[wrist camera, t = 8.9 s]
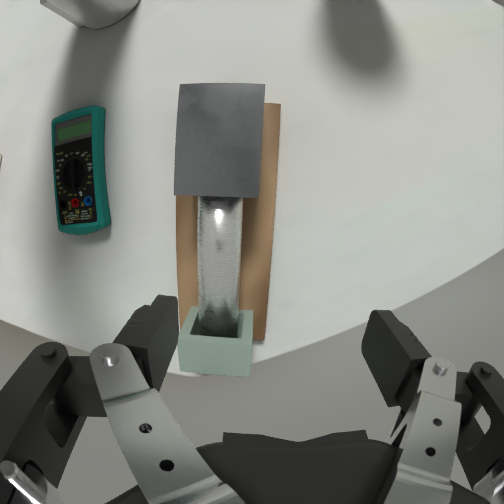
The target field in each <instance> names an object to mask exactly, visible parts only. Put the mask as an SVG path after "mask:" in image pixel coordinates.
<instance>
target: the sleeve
mask: <svg viewBox="0 0 504 504" xmlns="http://www.w3.org/2000/svg"><path fill="white" fill-rule="evenodd" d="M264 96H265V84H248V83H199V84H180V89H179V100H178V113H177V128H176V146H175V171H174V195H187V196H220V197H243V198H259V187H260V170H261V152H262V133H263V115H264Z"/></svg>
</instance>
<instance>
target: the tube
mask: <svg viewBox="0 0 504 504" xmlns="http://www.w3.org/2000/svg"><path fill="white" fill-rule="evenodd" d="M242 219H243V197H220V196H198V223H197V268H198V313H199V335H200V336H212V337H224V338H238V315H239V289H240V264H241V241H242Z"/></svg>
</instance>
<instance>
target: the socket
mask: <svg viewBox="0 0 504 504" xmlns="http://www.w3.org/2000/svg"><path fill="white" fill-rule="evenodd" d="M252 341H253V310H240V309H239V315H238V338H224V337H212V336H200V335H199V313H198V306H191V308H190V310H189V313H188V315H187V317H186V319H185V322H184V324H183V326H182V328H181V331H180V333H179V337H178V343H177V346H178V356H179V365H180V371H185V372H193V373H202V374H212V375H224V376H238V377H250V372H251V358H252Z"/></svg>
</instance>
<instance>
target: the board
mask: <svg viewBox="0 0 504 504" xmlns="http://www.w3.org/2000/svg"><path fill="white" fill-rule="evenodd" d="M280 110H281V104H275V103H264V115H263V133H262V152H261V170H260V187H259V198H243V219H242V241H241V264H240V289H239V309H240V310H253V340H264V338H265V327H266V315H267V304H268V292H269V279H270V267H271V254H272V240H273V226H274V212H275V197H276V181H277V165H278V148H279V129H280ZM197 223H198V196H187V195H176V252H177V280H178V300H179V316H180V329H181V328H182V326H183V324H184V322H185V319H186V317H187V315H188V313H189V310H190V308H191V306H198V268H197Z"/></svg>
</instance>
